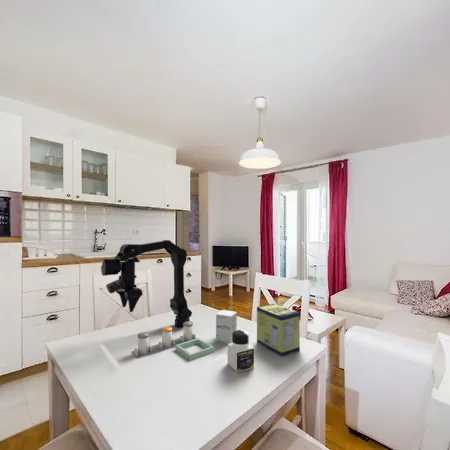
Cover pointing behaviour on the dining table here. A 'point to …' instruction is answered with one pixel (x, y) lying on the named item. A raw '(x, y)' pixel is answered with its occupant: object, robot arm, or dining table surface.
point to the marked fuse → (167, 336)
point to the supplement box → (225, 326)
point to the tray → (194, 355)
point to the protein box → (278, 329)
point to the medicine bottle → (240, 351)
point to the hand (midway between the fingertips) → (127, 309)
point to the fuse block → (147, 349)
